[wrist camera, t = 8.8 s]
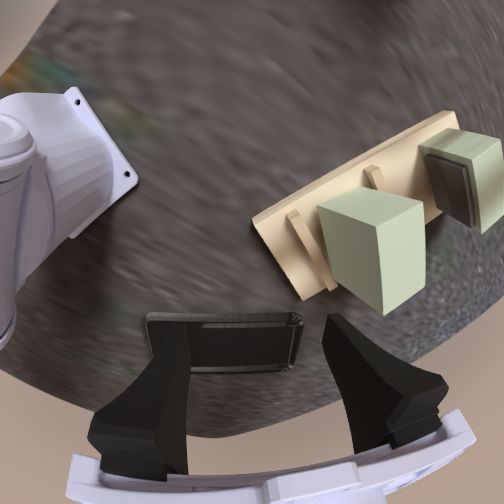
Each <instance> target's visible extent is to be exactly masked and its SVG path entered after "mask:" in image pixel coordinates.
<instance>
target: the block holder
mask: <svg viewBox="0 0 504 504" xmlns="http://www.w3.org/2000/svg"><path fill="white" fill-rule="evenodd" d="M358 187H365V188H369V189H374V190H378V191H382V192H386V193H391V194H395V195H399V196H403V197H407V198H410V199H414V200H418V201H422V202H423V210H424V225H426V224H427V223H428V222H430V221H431V220H433V219H434V218H436V217H437V216H438V215H440V214H441V213H442V212H444V213H446V214H448V215H450V216H451V217H453V218H455V219H456V220H458V221H460V222H461V223H463V224H465V225H466V226H468V227H470V228H472V229H474V230H476V231H477V232H479V233H480V234H483V233H484V232H485V231H486V230H487V229H488V228H489V227H490V226H492V225H493V224H494V223H495V222H496V221H497V220H498V219H499V218H500V217H501V216H502V215H503V214H504V160H503V153H502V147H501V142H500V139H497V138H493V137H489V136H485V135H481V134H477V133H472V132H468V131H463V130H459V126H458V123H457V119H456V116H455V113H454V112H452V111H441V112H439V113H437V114H436V115H434V116H432V117H430V118H428V119H426V120H424V121H422V122H420V123H418V124H416V125H415V126H413V127H411V128H409V129H407V130H405V131H403V132H401V133H400V134H398V135H396V136H394V137H392V138H390V139H388V140H387V141H385V142H383V143H381V144H379V145H377V146H376V147H374V148H372V149H370V150H368V151H367V152H365V153H363V154H361V155H359V156H358V157H356V158H354V159H352V160H350V161H349V162H347V163H345V164H343V165H342V166H340V167H338V168H336V169H335V170H333V171H331V172H329V173H328V174H326V175H324V176H322V177H321V178H319V179H317V180H315V181H314V182H312V183H310V184H308V185H307V186H305V187H303V188H302V189H300V190H298V191H297V192H295V193H293V194H291V195H290V196H288V197H286V198H285V199H283V200H281V201H280V202H278V203H276V204H275V205H273V206H271V207H269V208H268V209H266V210H264V211H263V212H261V213H260V214H258V215H256V216H255V217H253V218H252V221H253V224H254V226H255V228H256V229H257V231H258V232H259V234H260V235H261V237H262V238H263V240H264V241H265V243H266V245H267V246H268V248H269V249H270V251H271V252H272V254H273V255H274V257H275V258H276V260H277V261H278V263H279V264H280V266H281V268H282V269H283V271H284V272H285V274H286V275H287V277H288V278H289V280H290V282H291V283H292V285H293V286H294V288H295V289H296V291H297V292H298V294H299V296H300V297H301V299H302V300H303V301H304V300H306V299H308V298H309V297H311V296H313V295H315V294H316V293H318V292H320V291H322V290H323V289H325V288H328V290H329V291H331V290H333V289H335V288H336V287H338V285H337V283H336V282H337V281H336V280H334V279H333V277H332V272H331V267H330V262H329V257H328V253H327V248H326V244H325V239H324V235H323V231H322V226H321V222H320V218H319V214H318V210H317V206H316V205H317V204H320V203H322V202H324V201H327V200H329V199H332V198H334V197H336V196H339V195H341V194H344V193H346V192H348V191H351V190H353V189H356V188H358Z"/></svg>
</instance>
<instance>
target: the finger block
mask: <svg viewBox="0 0 504 504" xmlns="http://www.w3.org/2000/svg"><path fill="white" fill-rule="evenodd" d="M316 206H317V210H318V214H319V218H320V222H321V226H322V231H323V235H324V239H325V244H326V248H327V253H328V257H329V262H330V267H331V272H332V277H333V279H334V280H336V281H337V282H339V283H340V284H341V285H343V286H344V287H345V288H347V289H348V290H349V291H351V292H352V293H353V294H355V295H356V296H357V297H359V298H360V299H361V300H363V301H364V302H365V303H367V304H368V305H369V306H371V307H372V308H373V309H375V310H376V311H377V312H379V313H380V314H381V315H383V316H385V315H386V314H387V313H389V312H390V311H392V310H393V309H395V308H396V307H397V306H399V305H400V304H402V303H403V302H404V301H406V300H407V299H409V298H410V297H411V296H413V295H414V294H415V293H417V292H418V291H419V290H421V289H422V288H423V287H424V286H425V225H424V210H423V202H422V201H418V200H414V199H410V198H407V197H403V196H399V195H395V194H391V193H386V192H382V191H378V190H374V189H369V188H365V187H358V188H356V189H353V190H351V191H348V192H346V193H344V194H341V195H339V196H336V197H334V198H332V199H329V200H327V201H324V202H322V203H320V204H317V205H316Z"/></svg>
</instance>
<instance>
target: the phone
mask: <svg viewBox="0 0 504 504" xmlns="http://www.w3.org/2000/svg"><path fill="white" fill-rule="evenodd" d="M173 324H186V328H187V333H188V339H189V344H190V349H191V372H190V374H250V373H270V372H283V371H287V370H289V369H291V368H292V367H293V365H294V363H295V359H296V355H297V351H298V347H299V343H300V339H301V335H302V330H303V321H302V318H301V316H300V315H299V314H297V313H293V312H288V313H249V314H198V313H160V312H150V313H147V314H145V315H144V317H143V319H142V322H141V328H142V332H143V337H144V341H145V345H146V349H147V353H148V357H149V360H150V361H151V360H152V359H153V357H154V356H155V354H156V353H157V351H158V350H159V348H160V346H161V345H162V343H163V341H164V340H165V338H166V336H167V334H168V332H169V331H170V329H171V327H172V325H173Z"/></svg>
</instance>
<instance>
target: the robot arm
mask: <svg viewBox="0 0 504 504" xmlns="http://www.w3.org/2000/svg"><path fill="white" fill-rule="evenodd" d="M79 99H80V101H81V102H80V104H79V105H77V101H78V100H79ZM126 171H128V172H130V177H127V176H126V175H125V172H126ZM138 180H139V179H138V176H137V174H136V173H135V171H134V170H133V168H132V167H131V166H130V164H129V163H128V161H127V160H126V159H125V157H124V156H123V154H122V153H121V151H120V150H119V149H118V147H117V146H116V144H115V143H114V141H113V140H112V138H111V137H110V136H109V134H108V133H107V131H106V130H105V128H104V127H103V125H102V124H101V122H100V121H99V119H98V118H97V116H96V115H95V113H94V112H93V110H92V109H91V107H90V106H89V104H88V103H87V101H86V100H85V98H84V97H83V95H82V93H81V92H80V90H79V89H78V88H77V87H71V88H70V89H68V90H67V91H66V92H65V93H64V94H49V93H16V94H13V95H10V96H8V97H5V98H3V99H1V100H0V350H1V349H2V348H3V347H4V346H5V345H6V344H7V342H8V341H9V339H10V338H11V336H12V333H13V331H14V328H15V324H16V316H17V312H16V304H15V298H14V295H15V294H16V293H17V292H18V291H19V290H20V288H21V287H22V286H23V285H24V284H25V283H26V278H27V276H28V275H30V274H31V273H32V272H33V271H34V270H35V269H36V268H37V267H38V266H39V265H40V264H41V263H42V262H43V261H44V260H45V259H46V258H47V257H48V256H49V255H50V254H51V253H52V252H53V251H54V250H55V249H56V248H57V247H58V246H59V245H60V244H61V243H62V242H63V241H64V240H65V239H66V238H67V237H70V238H72V239H74V238H75V237H76V236H77V235H78V234H80V233H81V232H82V231H83V230H84V229H85V228H86V227H87V226H88V225H89V224H90V223H91V222H92V221H94V220H95V219H96V218H97V217H98V216H99V215H100V214H101V213H103V212H104V211H105V210H106V209H107V208H108V207H109V206H111V205H112V204H113V203H114V202H115V201H117V200H118V199H119V198H120V197H121V196H123V195H124V194H125V193H126V192H127V191H129V190H130V189H131V188H132V187H134V186H135V185H136V184H137V183H138ZM322 346H323V350H324V354H325V357H326V360H327V362H328V365H329V367H330V370H331V372H332V374H333V376H334V379H335V381H336V383H337V386H338V388H339V390H340V393H341V396H342V399H343V402H344V406H345V410H346V414H347V418H348V422H349V426H350V431H351V436H352V442H353V448H354V455H351V456H348V457H344V458H340V459H336V460H332V461H328V462H323V463H319V464H314V465H309V466H304V467H298V468H292V469H286V470H279V471H271V472H262V473H252V474H239V475H238V474H237V475H189V474H188V462H187V448H186V447H187V445H186V404H187V396H188V388H189V380H190V372H191V349H190V344H189V339H188V333H187V328H186V324H173V325H172V327H171V329H170V331H169V332H168V334H167V336H166V338H165V340H164V341H163V343H162V345H161V346H160V348H159V350H158V351H157V353H156V354H155V356H154V357H153V359H152V360H151V361H150V363H149V364H148V366H147V367H146V368H145V369H144V371H143V372H142V373H141V374H140V375H139V377H138V378H137V379H136V380H135V381H134V382H133V383H132V384H131V385H130V386H129V387H128V388H127V389H126V390H125V391H124V392H123V393H121V394H120V395H119V396H118V397H117V398H116V399H114V400H113V401H112V402H111V403H109V404H108V405H106V406H105V407H103V408H102V409H100V410H99V411H97V412H95V413H94V416H93V418H92V421H91V424H90V428H89V432H88V436H87V438H88V441H89V442H90V444H91V445H92V446H93V447H94V448H95V449H96V450H97V451H98V452H99V453H100V454H101V455H102V457H101V461H100V460H99V459H96V458H93V457H89V456H85V455H81V454H77V453H74V454H73V458H72V462H71V467H70V472H69V477H68V482H67V488H66V494H65V495H66V497H68V498H70V499H71V500H73V501H75V502H77V503H79V504H387V501H386V498H385V495H388V494H390V493H392V492H394V491H396V490H399V489H401V488H403V487H405V486H407V485H409V484H411V483H413V482H415V481H417V480H419V479H421V478H423V477H424V476H426V475H428V474H430V473H432V472H433V471H435V470H437V469H439V468H441V467H442V466H444V465H446V464H447V463H449V462H451V461H452V460H454V459H455V458H456V457H457V456H459V455H460V454H461V453H462V452H464V451H465V450H466V449H467V448H468V447H469V446H471V445H472V444H473V443H474V442H475V441H476V438H475V436H474V434H473V432H472V430H471V429H470V427H469V425H468V424H467V422H466V420H465V418H464V417H463V415H462V414H461V412H460V410H459V409H458V408H456V409H454V410H452V411H450V412H448V413H446V414H445V415H443V416H442V417H440V418H439V417H438V415H437V414H438V413H439V410H438V408H437V406H438V405H439V404H440V402H441V401H442V400H443V399H444V397H445V396H446V394H447V392H448V389H449V387H448V385H447V383H446V382H445V380H444V379H443V378H442V376H441V375H439V374H435V373H432V372H429V371H425V370H422V369H420V368H417V367H415V366H412V365H410V364H408V363H406V362H404V361H402V360H400V359H398V358H396V357H394V356H393V355H391V354H390V353H388V352H386V351H385V350H383V349H382V348H380V347H379V346H377V345H376V344H375V343H373V342H372V341H371V340H369V339H368V338H367V337H366V336H364V335H363V334H362V333H361V332H360V331H358V330H357V329H356V328H355V327H354V326H353V325H352V324H350V323H349V322H348V321H347V320H346V319H345V318H344V317H342V316H341V315H340V314H339V313H336V314H328V316H327V321H326V325H325V330H324V334H323V338H322Z"/></svg>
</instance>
